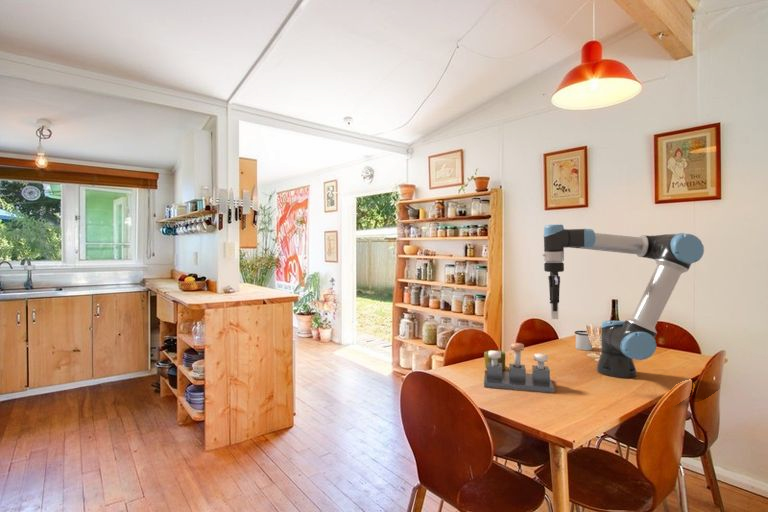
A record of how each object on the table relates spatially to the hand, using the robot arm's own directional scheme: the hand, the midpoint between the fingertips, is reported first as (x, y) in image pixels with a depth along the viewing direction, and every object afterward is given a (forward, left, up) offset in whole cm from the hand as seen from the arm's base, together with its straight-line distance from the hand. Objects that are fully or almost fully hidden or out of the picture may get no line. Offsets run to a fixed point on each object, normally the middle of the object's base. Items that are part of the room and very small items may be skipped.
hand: (554, 318), depth 168 cm
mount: (+15, +7, -26) cm, 31 cm away
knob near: (+6, +7, -24) cm, 26 cm away
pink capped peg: (+15, +7, -20) cm, 26 cm away
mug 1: (+24, -12, -26) cm, 37 cm away
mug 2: (-24, -62, -26) cm, 71 cm away
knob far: (+24, +7, -24) cm, 35 cm away
